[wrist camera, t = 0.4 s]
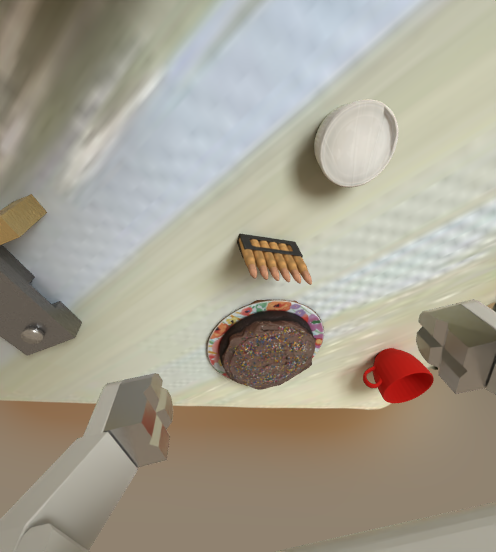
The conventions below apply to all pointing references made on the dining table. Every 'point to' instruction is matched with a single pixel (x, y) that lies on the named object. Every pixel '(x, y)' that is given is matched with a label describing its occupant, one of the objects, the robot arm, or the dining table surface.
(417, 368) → the ceramic cup
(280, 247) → the ammunition clip
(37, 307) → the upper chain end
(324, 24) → the dining table surface
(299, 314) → the chocolate cake
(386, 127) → the ramekin
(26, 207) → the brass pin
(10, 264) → the lower chain end
